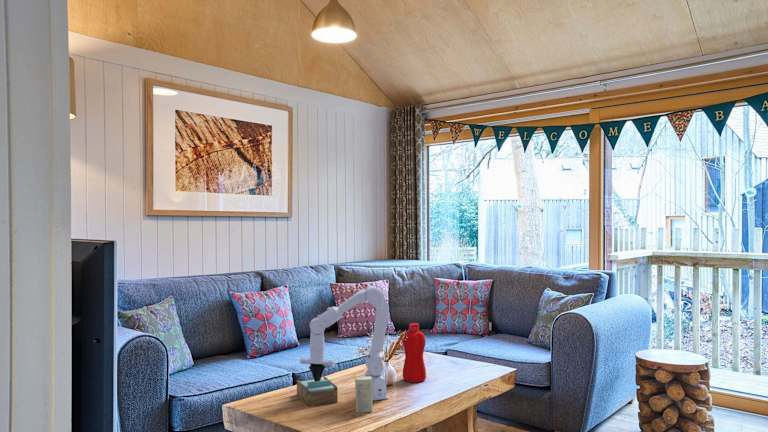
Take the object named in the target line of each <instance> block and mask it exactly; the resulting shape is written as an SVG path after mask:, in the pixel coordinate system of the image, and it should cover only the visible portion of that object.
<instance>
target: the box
mask: <svg viewBox="0 0 768 432" xmlns="http://www.w3.org/2000/svg"><path fill="white" fill-rule="evenodd" d="M323 379H325V380H330V379H329V378H328V377H326V376H323ZM331 385H332V386H333V387H335V389H332V390H324V391H317V392H309V390H308V389H307V388H306V387H305V386H304V385H303V384H302V383H301V382H300V379H297V380H296V396H297V397H298V398H299V397H300V398H301V399H302V400H303V401H302V400H301V399H300V398H299V399H300V400H301V401H302V402H303V403H304V404H305V405H306V406H307V407H312V405H315V406H321V405H327V404H334V403H335V404H336V403H338V386H337V385H336V384H335V383H333V382H332V381H331Z"/></svg>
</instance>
